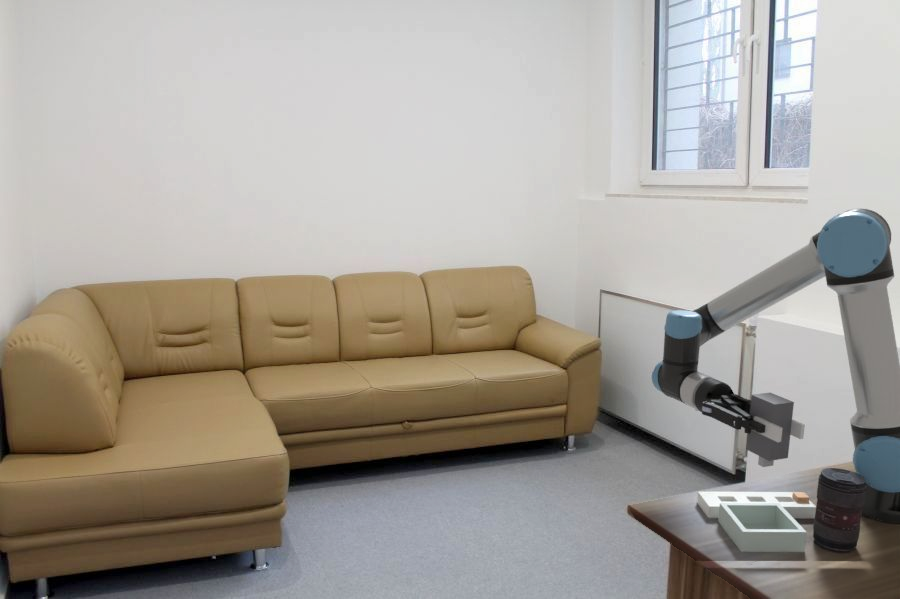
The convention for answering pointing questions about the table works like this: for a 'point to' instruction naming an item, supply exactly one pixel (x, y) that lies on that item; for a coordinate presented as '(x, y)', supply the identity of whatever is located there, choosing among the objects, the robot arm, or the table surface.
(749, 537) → the bin
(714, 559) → the table surface
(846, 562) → the table surface
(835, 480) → the camera lens
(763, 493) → the strip
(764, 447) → the tall grey pillar
